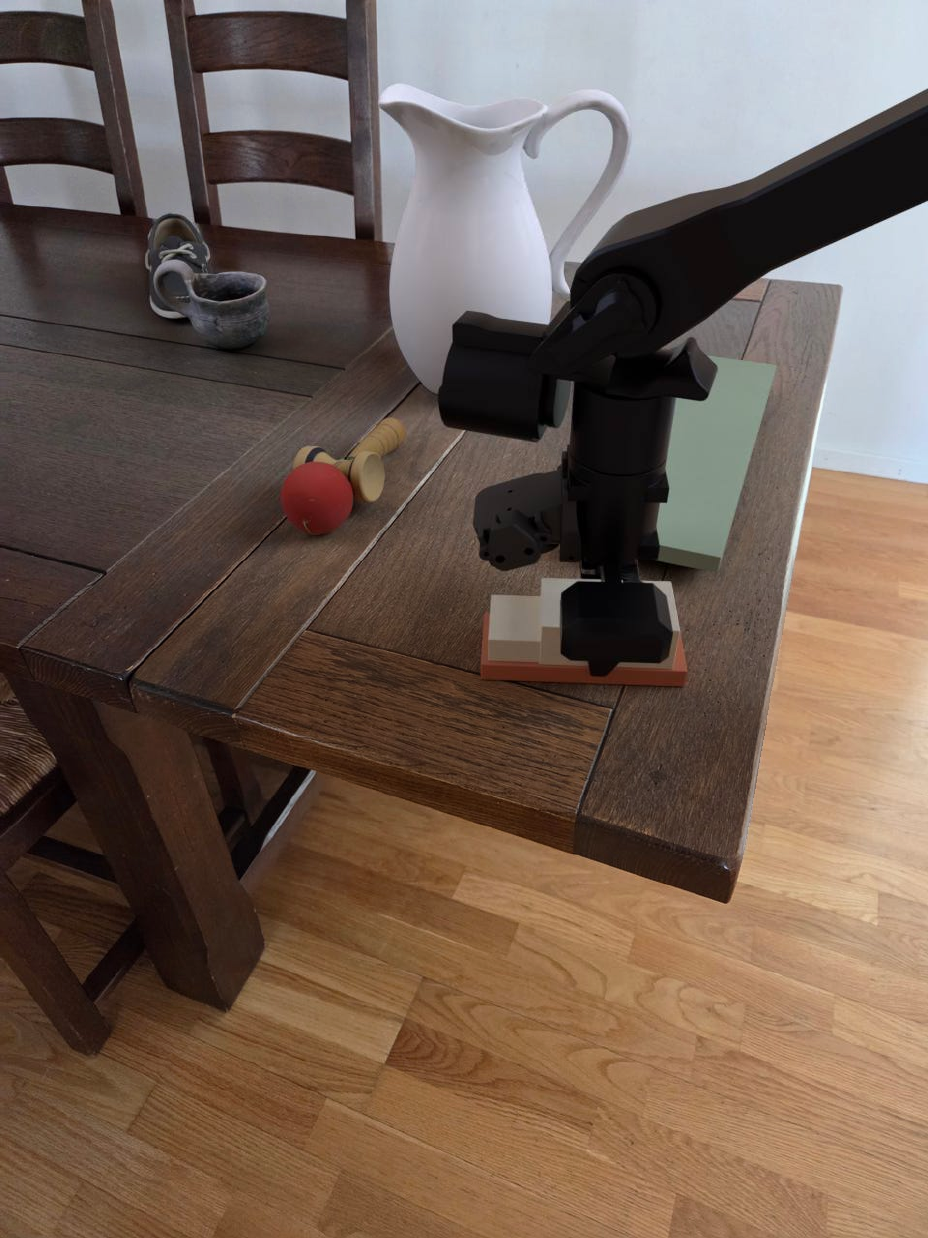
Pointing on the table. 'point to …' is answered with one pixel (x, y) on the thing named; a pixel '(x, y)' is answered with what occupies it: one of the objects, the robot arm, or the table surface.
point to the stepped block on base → (530, 643)
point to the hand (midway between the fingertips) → (596, 645)
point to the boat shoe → (174, 258)
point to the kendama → (337, 480)
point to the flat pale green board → (711, 463)
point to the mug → (219, 304)
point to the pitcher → (480, 216)
